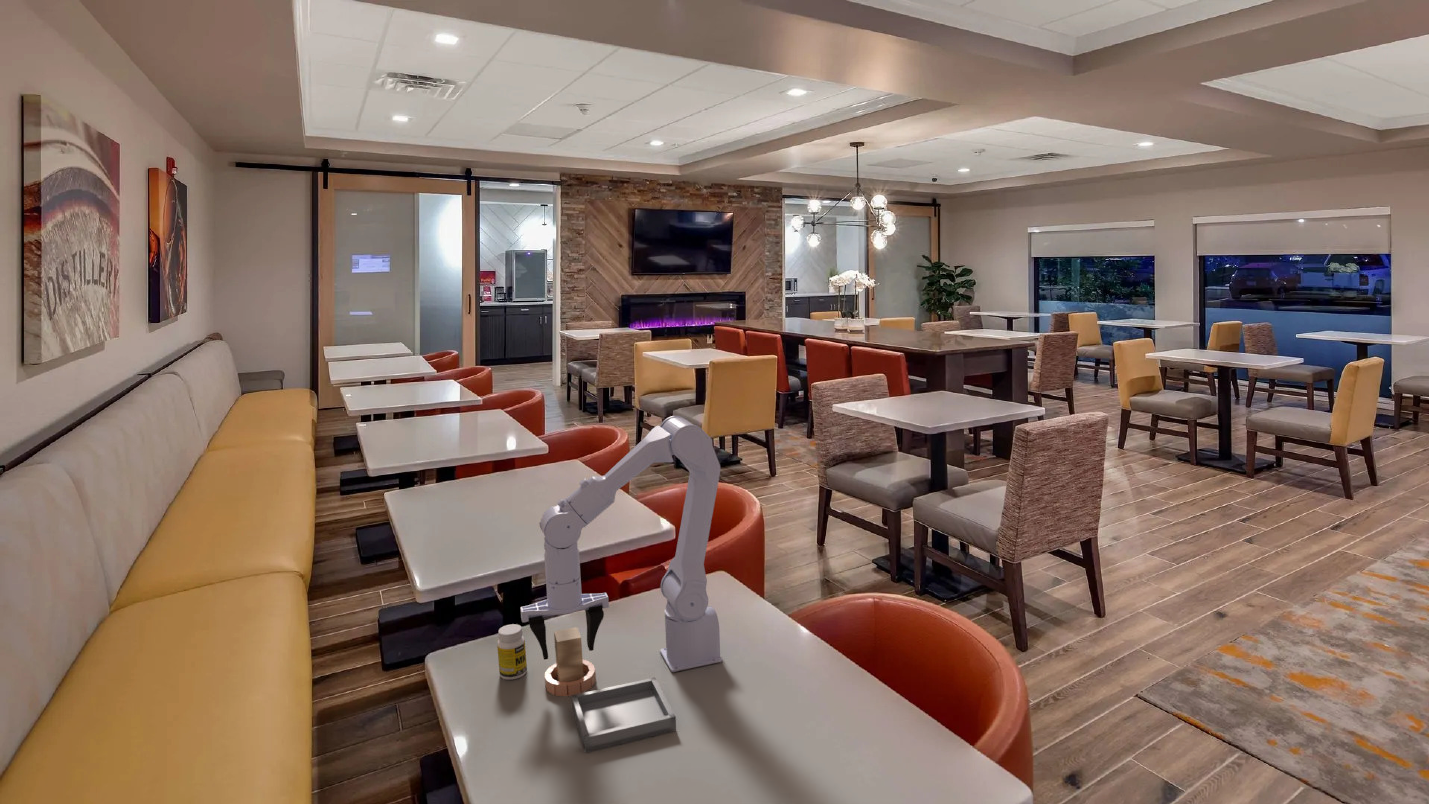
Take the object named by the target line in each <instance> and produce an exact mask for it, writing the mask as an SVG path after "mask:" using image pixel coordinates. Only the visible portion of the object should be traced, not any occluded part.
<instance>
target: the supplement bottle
mask: <svg viewBox="0 0 1429 804" xmlns="http://www.w3.org/2000/svg"><path fill="white" fill-rule="evenodd" d="M522 628H523V627H522V626H521V625H520V624H518V623H516V624H514V623H512V624H506V625H503V626H502V627H500V628H499V629H498V641H497V643H496V646H497V647H496V648H497V658H498V669H499V671H498V672H499V676H500V678H502V679H503V680H517V679H520V678H522V677H523V676H525V674H526V673H527V670H528V666H527V665H528V664H527V654H526V653H527V652H526V640H525V637H524V636H523V629H522Z"/></svg>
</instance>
